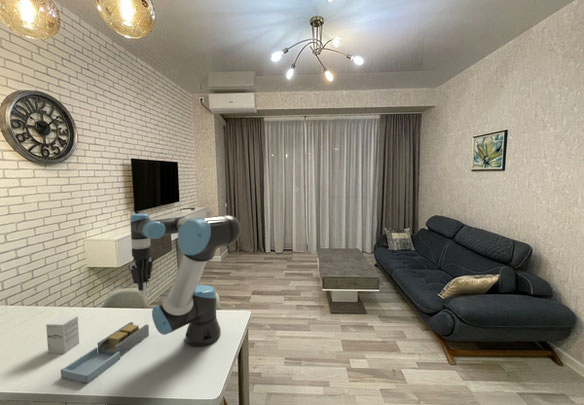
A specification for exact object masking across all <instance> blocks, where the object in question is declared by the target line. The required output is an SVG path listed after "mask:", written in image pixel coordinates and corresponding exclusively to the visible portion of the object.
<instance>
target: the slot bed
mask: <svg viewBox="0 0 584 405" xmlns="http://www.w3.org/2000/svg"><path fill="white" fill-rule="evenodd" d="M129 324H131V325H134V322H129V323H127V324H125V325H124V326H122V327H121V328H119V329H116V330H115V331H114V332H112V333H111V334H110V335H108V336H106V337H105V338H104V339H101V340H100V341H99V342H97V349H98V353H99V354H104V355H110V356H113V355H114V354H116V353H117V352H120V358H121V357H122V356H124V355H125V354H126V353H127V352H129V351H131V350H132V349H133V348H134V347H136V346H137V345H139V343H141V342H142V341H144V340H145V339H146V338H147V337H149V336H150V330H149V329H150V327H149V326H150V325H149V324H144V325H143V326H141V327H140V328H139V330H137V331H136V332H134V333H133V334H131V335H130V336H128V337H127V338H126V339H124V340H123V341H121V342H120V343H118V344H117V345H115V347H114V346H109V337H110V336H112V335H113V334H115V333H117V332H118V331H119V332H121V329H123V328H124V327H126V326H127V325H129Z"/></svg>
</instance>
